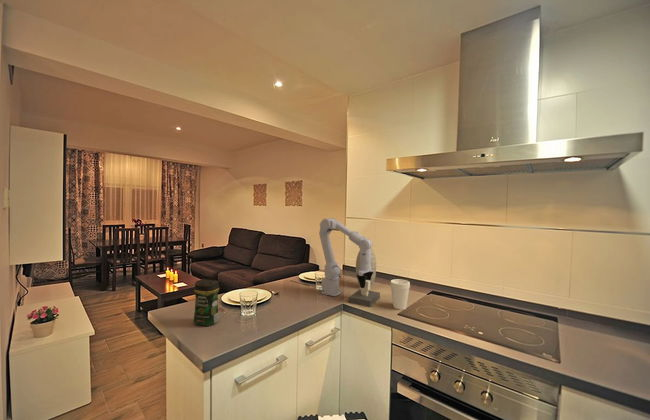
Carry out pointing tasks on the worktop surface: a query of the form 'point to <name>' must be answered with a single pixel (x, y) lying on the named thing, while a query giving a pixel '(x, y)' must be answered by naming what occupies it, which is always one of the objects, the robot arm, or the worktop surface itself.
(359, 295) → the socket block
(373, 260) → the vase
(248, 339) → the worktop surface
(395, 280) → the foam cup
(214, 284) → the coffee jar
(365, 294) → the plug
